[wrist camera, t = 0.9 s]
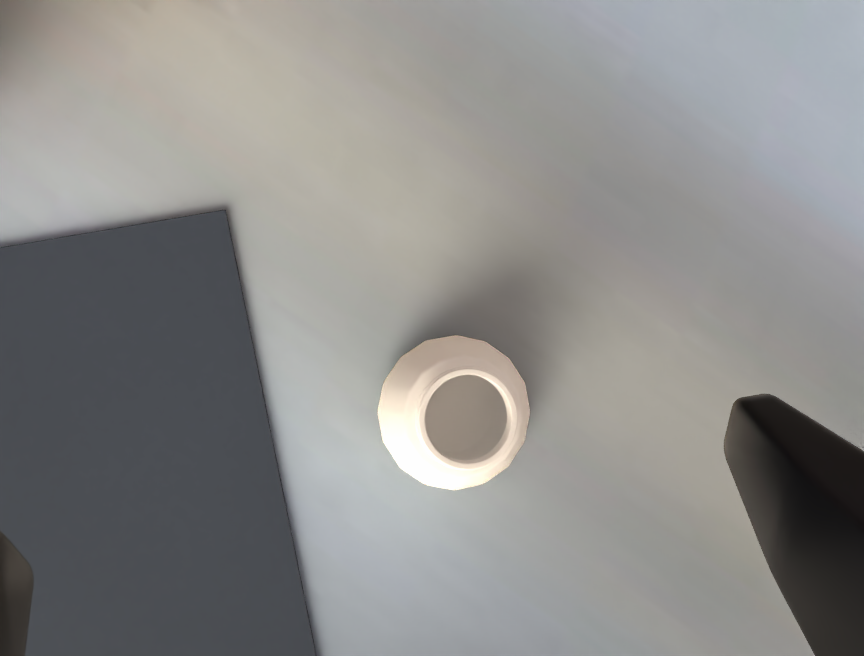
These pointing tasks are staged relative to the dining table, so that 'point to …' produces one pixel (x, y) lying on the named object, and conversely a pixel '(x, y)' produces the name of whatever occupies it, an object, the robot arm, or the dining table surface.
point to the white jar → (453, 412)
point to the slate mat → (142, 449)
